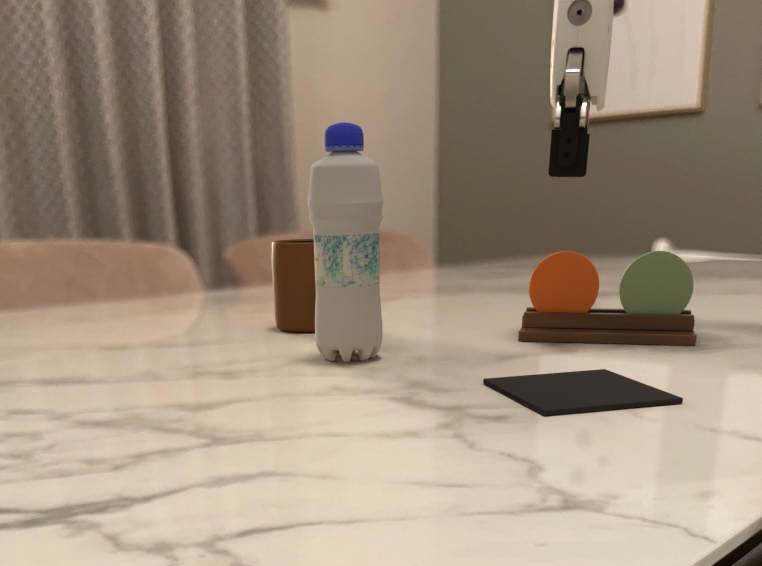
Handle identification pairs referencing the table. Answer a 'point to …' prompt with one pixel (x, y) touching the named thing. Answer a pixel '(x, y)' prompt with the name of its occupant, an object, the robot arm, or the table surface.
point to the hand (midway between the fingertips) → (567, 176)
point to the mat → (579, 392)
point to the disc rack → (608, 327)
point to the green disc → (656, 284)
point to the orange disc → (564, 283)
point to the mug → (294, 284)
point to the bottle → (346, 246)
